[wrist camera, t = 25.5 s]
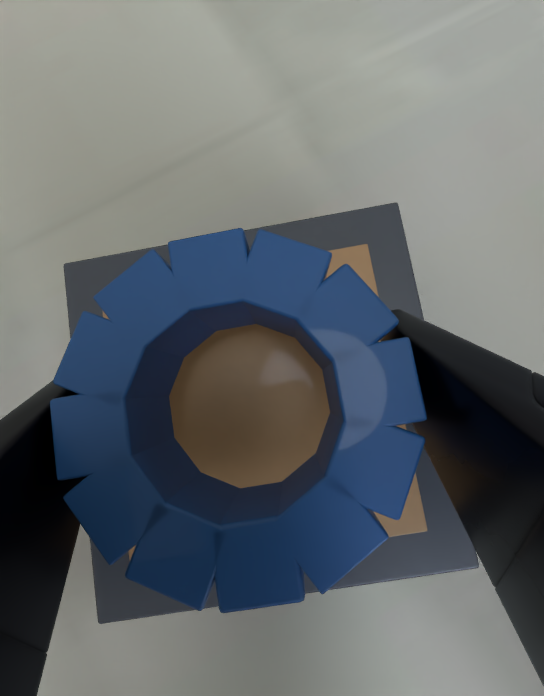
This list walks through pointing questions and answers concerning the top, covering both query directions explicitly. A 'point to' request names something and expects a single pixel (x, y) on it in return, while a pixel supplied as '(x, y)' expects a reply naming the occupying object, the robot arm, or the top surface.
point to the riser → (281, 410)
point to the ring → (176, 466)
